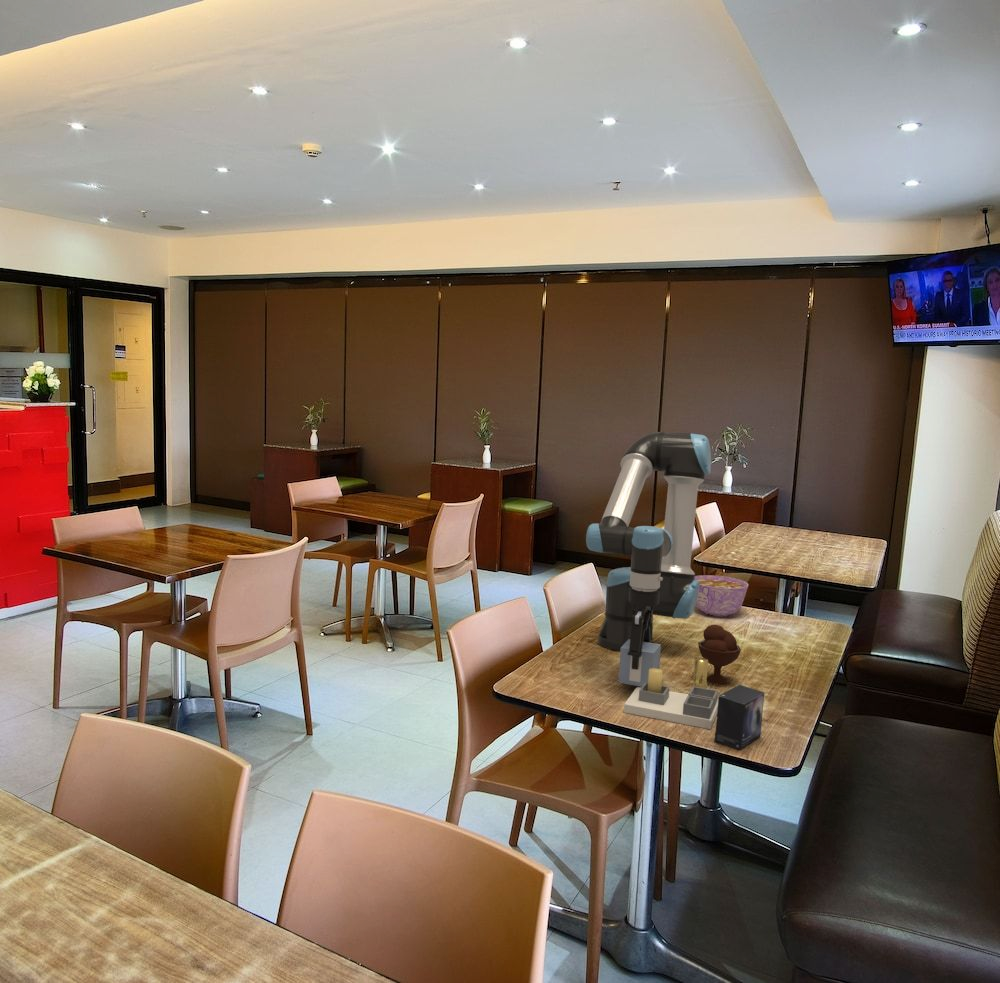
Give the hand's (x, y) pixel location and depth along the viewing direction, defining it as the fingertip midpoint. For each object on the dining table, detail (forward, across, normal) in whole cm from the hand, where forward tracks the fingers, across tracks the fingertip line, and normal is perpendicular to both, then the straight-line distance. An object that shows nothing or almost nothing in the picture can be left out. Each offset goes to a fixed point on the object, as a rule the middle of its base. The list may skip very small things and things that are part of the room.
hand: (639, 675), depth 200 cm
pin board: (+4, -10, -10) cm, 15 cm away
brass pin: (+4, +1, -15) cm, 15 cm away
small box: (+4, -19, -27) cm, 33 cm away
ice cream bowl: (+4, +17, -17) cm, 24 cm away
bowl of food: (+3, +87, -7) cm, 88 cm away
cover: (+1, 0, 0) cm, 1 cm away
